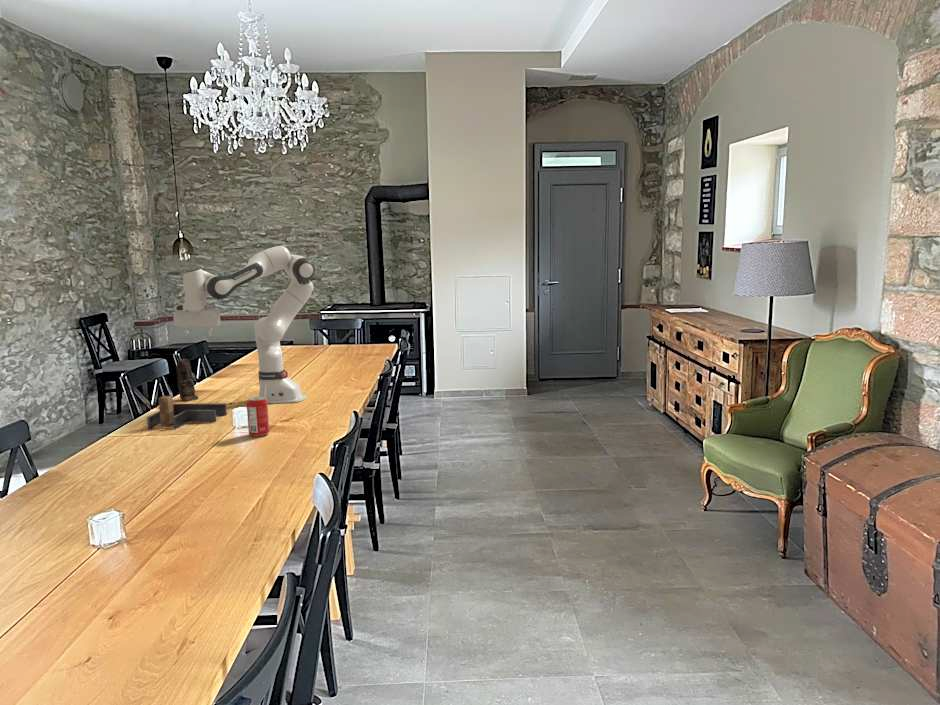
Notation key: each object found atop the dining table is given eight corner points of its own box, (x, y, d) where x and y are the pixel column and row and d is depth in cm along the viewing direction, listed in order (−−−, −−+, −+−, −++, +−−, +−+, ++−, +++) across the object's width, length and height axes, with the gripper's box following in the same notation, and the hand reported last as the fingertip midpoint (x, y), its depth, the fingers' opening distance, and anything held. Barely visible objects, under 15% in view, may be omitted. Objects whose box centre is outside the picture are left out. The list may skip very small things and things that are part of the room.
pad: (181, 423, 308) (181, 422, 308) (172, 428, 300) (172, 427, 300) (163, 423, 309) (163, 422, 309) (153, 428, 301) (153, 427, 301)
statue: (186, 401, 347) (182, 360, 343) (177, 399, 351) (174, 359, 348) (199, 399, 352) (195, 358, 349) (190, 397, 356) (187, 357, 353)
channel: (226, 414, 321) (225, 403, 320) (204, 429, 298) (203, 417, 297) (174, 414, 323) (173, 403, 322) (147, 429, 300) (146, 417, 299)
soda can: (248, 438, 284) (246, 401, 281) (249, 433, 291) (246, 396, 289) (269, 436, 286) (267, 399, 283) (269, 431, 293) (267, 395, 291)
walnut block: (174, 423, 306) (172, 396, 304) (170, 426, 302) (167, 398, 300) (165, 423, 307) (163, 396, 304) (161, 426, 303) (158, 398, 301)
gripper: (221, 304, 323) (224, 335, 325) (177, 305, 324) (180, 336, 327) (215, 306, 316) (218, 337, 319) (170, 306, 318) (173, 338, 320)
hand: (198, 336), depth 323 cm, fingers open, 8 cm apart
